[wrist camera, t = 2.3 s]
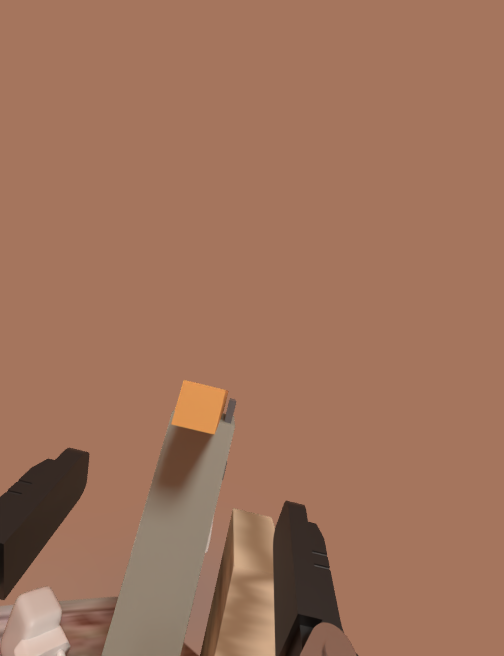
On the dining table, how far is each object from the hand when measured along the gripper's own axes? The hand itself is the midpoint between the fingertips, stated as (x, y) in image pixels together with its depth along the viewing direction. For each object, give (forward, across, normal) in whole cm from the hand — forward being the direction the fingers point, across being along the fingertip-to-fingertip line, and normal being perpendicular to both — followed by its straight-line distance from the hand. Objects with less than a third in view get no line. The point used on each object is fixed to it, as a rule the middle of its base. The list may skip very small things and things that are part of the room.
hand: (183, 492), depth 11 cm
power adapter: (+9, +13, +42) cm, 45 cm away
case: (+8, +1, +40) cm, 41 cm away
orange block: (+19, +1, +10) cm, 22 cm away
